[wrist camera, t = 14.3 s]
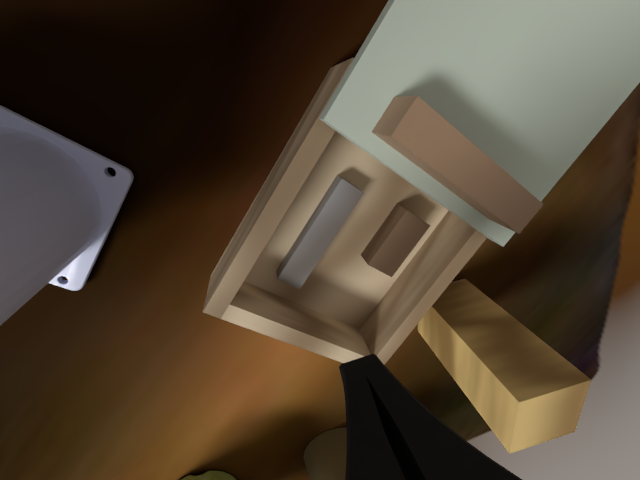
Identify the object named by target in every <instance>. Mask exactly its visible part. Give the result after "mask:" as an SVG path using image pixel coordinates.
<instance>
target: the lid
mask: <svg viewBox="0 0 640 480" xmlns="http://www.w3.org/2000/svg"><path fill="white" fill-rule="evenodd" d="M639 83H640V0H388V2H387V4H386V5H385V7H384V9H383V10H382V12H381V14H380V16H379V17H378V19H377V21H376V22H375V24H374V26H373V27H372V29H371V31H370V32H369V34H368V36H367V38H366V39H365V41H364V43H363V44H362V46H361V48H360V49H359V51H358V53H357V54H356V56H355V58H354V60H353V61H352V63H351V65H350V66H349V68H348V70H347V71H346V73H345V75H344V76H343V78H342V80H341V82H340V83H339V85H338V87H337V88H336V90H335V92H334V93H333V95H332V97H331V98H330V100H329V102H328V104H327V105H326V107H325V109H324V110H323V112H322V114H321V115H320V117H319V119H320V120H321V121H323V122H324V123H326V124H327V125H328V126H330V127H331V128H333V129H334V130H335V131H337V132H338V133H340V134H341V135H343V136H344V137H345V138H347V139H348V140H350V141H351V142H352V143H354V144H355V145H357V146H358V147H360V148H361V149H362V150H364V151H365V152H367V153H368V154H370V155H371V156H372V157H374V158H375V159H377V160H378V161H379V162H381V163H382V164H384V165H385V166H387V167H388V168H389V169H391V170H392V171H394V172H395V173H396V174H398V175H399V176H401V177H402V178H404V179H405V180H406V181H408V182H409V183H411V184H412V185H414V186H415V187H416V188H418V189H419V190H421V191H422V192H423V193H425V194H426V195H428V196H429V197H431V198H432V199H433V200H435V201H436V202H438V203H439V204H440V205H442V206H443V207H445V208H446V209H448V210H449V211H450V212H452V213H453V214H455V215H456V216H457V217H459V218H460V219H462V220H463V221H465V222H466V223H467V224H469V225H470V226H472V227H473V228H475V229H476V230H477V231H479V232H480V233H482V234H483V235H484V236H486V237H487V238H489V239H490V240H492V241H494V242H495V243H497V244H499V245H501V246H503V247H504V245H505V244H506V243H507V242H508V241H509V239H510V238H511V237H512V236H513V235H514V233H515V232H517V233H519V234H520V232H521V231H522V230H523V229H524V228H525V226H526V225H527V224H528V223H529V222H530V220H531V219H532V218H533V217H534V216H535V214H536V213H537V212H538V211H539V210H540V208H541V207H542V206H543V205H544V204H543V203H541V201H542V200H543V198H544V197H545V196H546V195H547V194H548V192H549V191H550V190H551V189H552V188H553V186H554V185H555V184H556V183H557V182H558V180H559V179H560V178H561V177H562V175H563V174H564V173H565V172H566V171H567V169H568V168H569V167H570V166H571V165H572V163H573V162H574V161H575V160H576V159H577V157H578V156H579V155H580V154H581V153H582V151H583V150H584V149H585V148H586V147H587V145H588V144H589V143H590V142H591V140H592V139H593V138H594V137H595V136H596V134H597V133H598V132H599V131H600V130H601V128H602V127H603V126H604V125H605V124H606V122H607V121H608V120H609V119H610V118H611V116H612V115H613V114H614V113H615V112H616V110H617V109H618V108H619V107H620V106H621V104H622V103H623V102H624V101H625V99H626V98H627V97H628V96H629V95H630V93H631V92H632V91H633V90H634V89H635V87H636V86H637V85H638V84H639Z"/></svg>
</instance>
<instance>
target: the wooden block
mask: <svg viewBox="0 0 640 480" xmlns="http://www.w3.org/2000/svg"><path fill="white" fill-rule="evenodd" d="M418 332H419V333H420V334H421V336H422V337H423V338H424V340H425V341H426V342H427V344H428V345H429V346H430V348H431V349H432V350H433V352H434V353H435V354H436V356H437V357H438V358H439V360H440V361H441V363H442V364H443V365H444V367H445V368H446V369H447V371H448V372H449V373H450V375H451V376H452V377H453V379H454V380H455V381H456V383H457V384H458V385H459V387H460V388H461V389H462V391H463V392H464V393H465V395H466V396H467V397H468V399H469V400H470V401H471V403H472V404H473V405H474V407H475V408H476V409H477V411H478V412H479V413H480V415H481V416H482V417H483V419H484V420H485V421H486V423H487V424H488V426H489V427H490V428H491V430H492V431H493V432H494V433H495V435H496V436H497V437H498V439H499V440H500V442H501V443H502V444H503V446H504V447H505V448H506V450H507V451H508V452H509V453H513V452H515V451H519V450H522V449H525V448H528V447H531V446H533V445H537V444H540V443H543V442H545V441H549V440H552V439H555V438H558V437H561V436H563V435H566V434H569V433H572V432H574V431H575V429H576V426H577V423H578V420H579V416H580V413H581V410H582V407H583V404H584V401H585V397H586V394H587V391H588V388H589V385H590V382H591V379H589V378H588V377H587V376H586V375H584V374H583V373H582V372H581V371H579V370H578V369H577V368H576V367H574V366H573V365H572V364H571V363H569V362H568V361H567V360H566V359H564V358H563V357H562V356H561V355H559V354H558V353H557V352H556V351H554V350H553V349H552V348H551V347H550V346H548V345H547V344H546V343H545V342H543V341H542V340H541V339H540V338H538V337H537V336H536V335H535V334H533V333H532V332H531V331H530V330H528V329H527V328H526V327H525V326H523V325H522V324H521V323H520V322H518V321H517V320H516V319H515V318H513V317H512V316H511V315H510V314H509V313H507V312H506V311H505V310H504V309H502V308H501V307H500V306H499V305H497V304H496V303H495V302H494V301H492V300H491V299H490V298H489V297H487V296H486V295H485V294H484V293H482V292H481V291H480V290H479V289H477V288H476V287H475V286H474V285H472V284H471V283H470V282H469V281H468V280H466V279H461V280H457V281H453V282H451V283H450V284H449V285H448V287H447V288H446V289H445V290H444V292H443V293H442V294H441V295H440V297H439V298H438V299H437V300H436V302H435V303H434V304H433V305H432V306H431V308H430V309H429V310H428V311H427V313H426V314H425V315H424V316H423V318H422V319H421V320H420V321H419V323H418Z"/></svg>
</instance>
